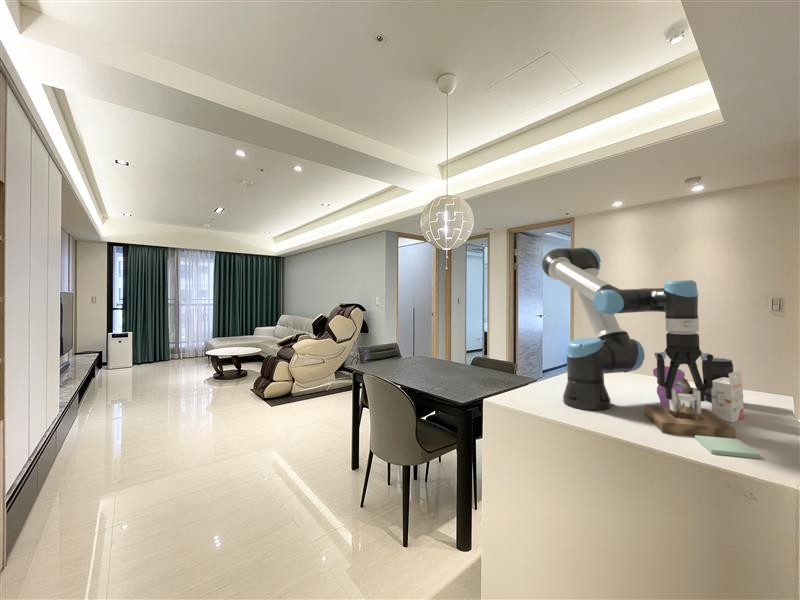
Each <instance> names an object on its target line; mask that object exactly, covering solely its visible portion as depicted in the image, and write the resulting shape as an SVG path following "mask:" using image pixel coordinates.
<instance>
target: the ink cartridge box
mask: <svg viewBox="0 0 800 600" xmlns="http://www.w3.org/2000/svg"><path fill="white" fill-rule="evenodd" d="M735 376H736V377H735ZM712 384H713V388H712V389H711V396H712V403H711V410H712V411H711V412H712V413H713V414H715V415H716V416H718V417H719V418H721V419H722V420H724V421H725V422H727V423H730V424H731V423H732V424H734V423H735V422H737V421H739V420H741V419H743V418H744V415H745V413H744V412H745V409H744V389H743V388H744V386H743V385H744V384H743V377H742V370H735V371H733V372H732V373H729V378H725V377H722V378H719V379H716V380H713V381H712Z"/></svg>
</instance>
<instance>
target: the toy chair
mask: <svg viewBox="0 0 800 600" xmlns="http://www.w3.org/2000/svg"><path fill="white" fill-rule="evenodd" d="M669 367H670V365H665V381H666V378H667V374H668V371H669ZM652 374H653V376H654V377H655V378H657V367H655V368H653V370H652ZM685 375H686V374H685V371H684V370H682V369H680V368H678V370H677V373H676V377H675V380H674V383H673V387H672V388H674V389H675V391H676V393H677V395H678V394H680V393H681V394H682V391H683V389H682V386H675V383H676V382H679V381H680V380H682V379H683V378H685V377H686V376H685ZM656 393H657V397H658V399H659V401H660V402H659V406H670V403H669V399H667V398H666V396H665V387H662V386H660V385H659V384H657V387H656ZM676 407H677V402H676Z"/></svg>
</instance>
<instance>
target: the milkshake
mask: <svg viewBox="0 0 800 600" xmlns="http://www.w3.org/2000/svg"><path fill="white" fill-rule="evenodd" d="M695 401H696V399H695V398H694V396H693V395H690V394H681V393H680V394H678V395H677V393H676V402H677V409H678V416H679V418H680V419H693V420H694V415H695Z"/></svg>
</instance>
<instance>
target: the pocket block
mask: <svg viewBox="0 0 800 600" xmlns="http://www.w3.org/2000/svg"><path fill="white" fill-rule="evenodd" d="M644 415H646V417H647V418H648V419H649V420H650V421H651V422H652V423H653V424H654V425H655V427H656V428H657V429H658V430H660V432H661V433H663V434H671V435H683V436H694V437H695V435H698V436H709V437H721V438H732V439H736V427H734V426H733V425H731V423H729V422H726V421H724V420H722V419H721V418H719V417H718V416H716V415H715V414H713V413H712V411H711V410H709V409H707V408H702V407H701V413H697V412H695V415H694V420H693V419H680V418H679V416H678V409H677V407H676V412H673V411H672V410H671V409H670V406H660V405H655V404H654V405H653V404H644Z"/></svg>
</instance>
